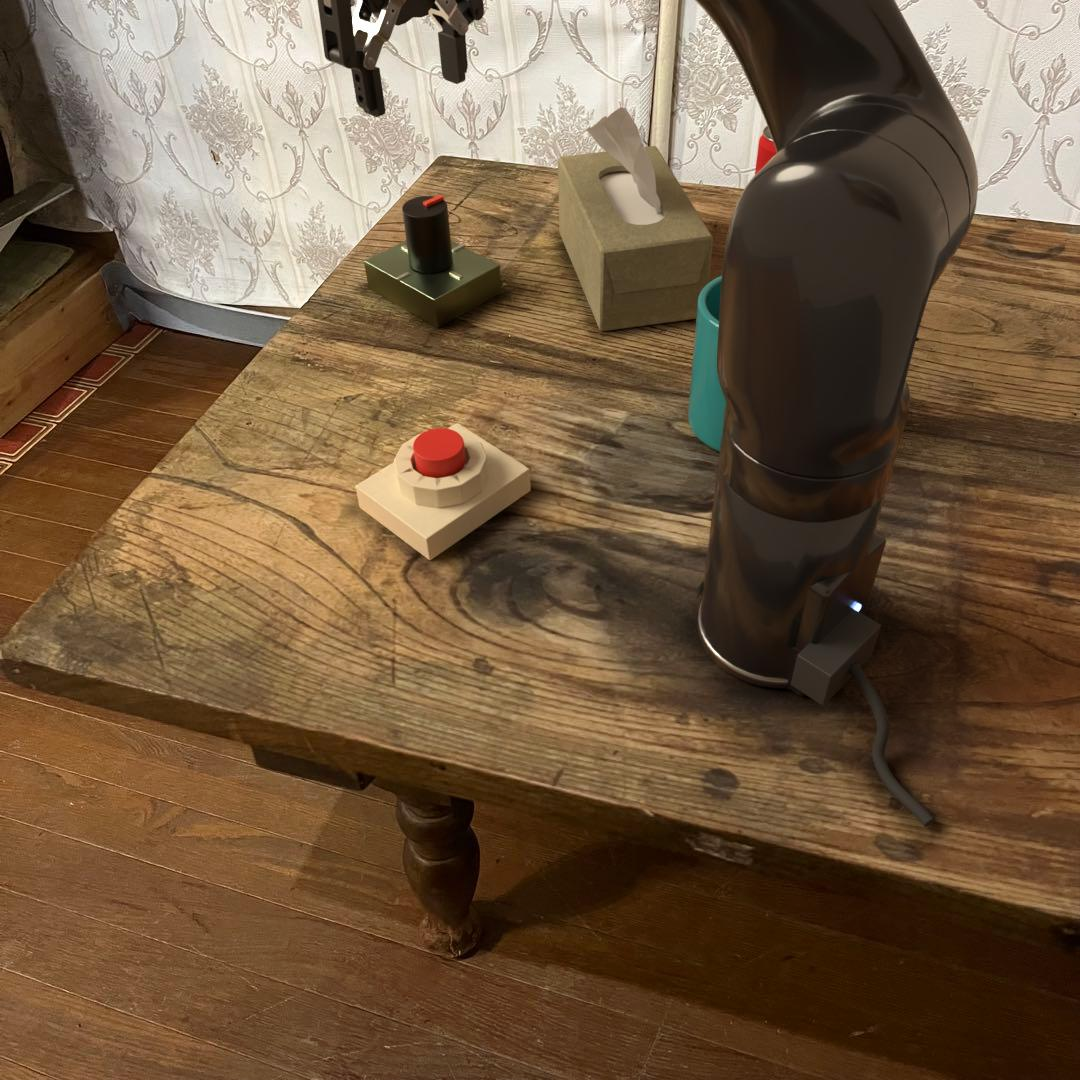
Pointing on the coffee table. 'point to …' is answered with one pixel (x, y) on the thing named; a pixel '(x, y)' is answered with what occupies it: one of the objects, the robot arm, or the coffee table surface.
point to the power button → (439, 453)
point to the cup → (707, 370)
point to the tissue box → (631, 230)
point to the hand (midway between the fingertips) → (415, 96)
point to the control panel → (434, 283)
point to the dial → (427, 233)
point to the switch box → (443, 494)
